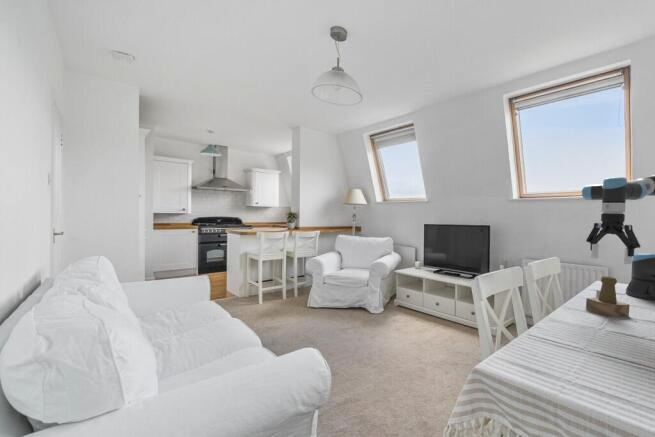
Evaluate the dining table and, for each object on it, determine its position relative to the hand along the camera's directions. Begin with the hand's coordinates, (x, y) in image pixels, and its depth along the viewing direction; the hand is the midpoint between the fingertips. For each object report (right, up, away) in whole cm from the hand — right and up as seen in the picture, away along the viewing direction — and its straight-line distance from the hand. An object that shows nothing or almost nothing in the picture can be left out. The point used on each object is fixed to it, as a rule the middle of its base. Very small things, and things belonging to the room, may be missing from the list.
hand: (610, 260), depth 133 cm
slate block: (+11, -23, +14) cm, 29 cm away
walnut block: (-1, -23, +1) cm, 23 cm away
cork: (0, -18, +1) cm, 18 cm away
